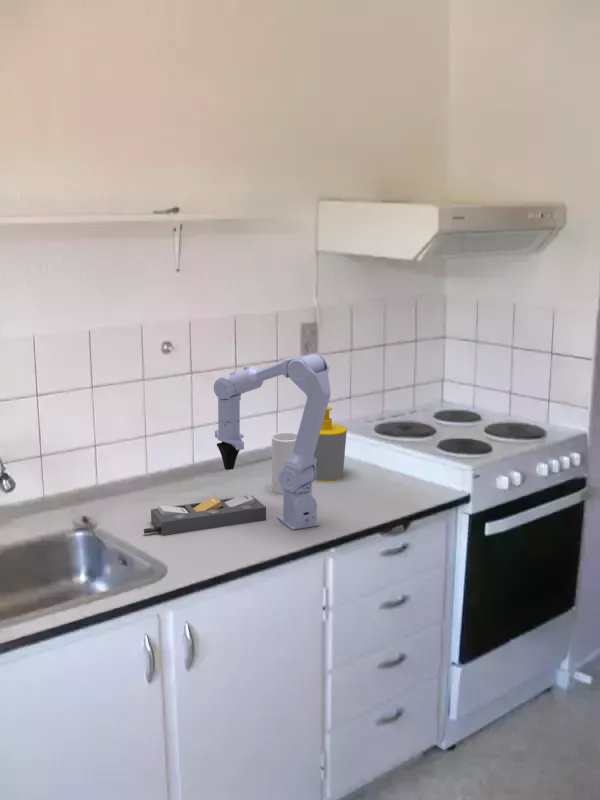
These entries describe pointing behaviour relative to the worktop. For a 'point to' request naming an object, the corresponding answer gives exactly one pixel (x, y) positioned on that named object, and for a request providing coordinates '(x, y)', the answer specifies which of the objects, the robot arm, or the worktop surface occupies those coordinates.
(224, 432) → the robot arm
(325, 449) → the soap bottle
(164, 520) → the power strip
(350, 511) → the worktop surface
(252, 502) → the rocker
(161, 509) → the block
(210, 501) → the rocker mid
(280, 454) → the cup
